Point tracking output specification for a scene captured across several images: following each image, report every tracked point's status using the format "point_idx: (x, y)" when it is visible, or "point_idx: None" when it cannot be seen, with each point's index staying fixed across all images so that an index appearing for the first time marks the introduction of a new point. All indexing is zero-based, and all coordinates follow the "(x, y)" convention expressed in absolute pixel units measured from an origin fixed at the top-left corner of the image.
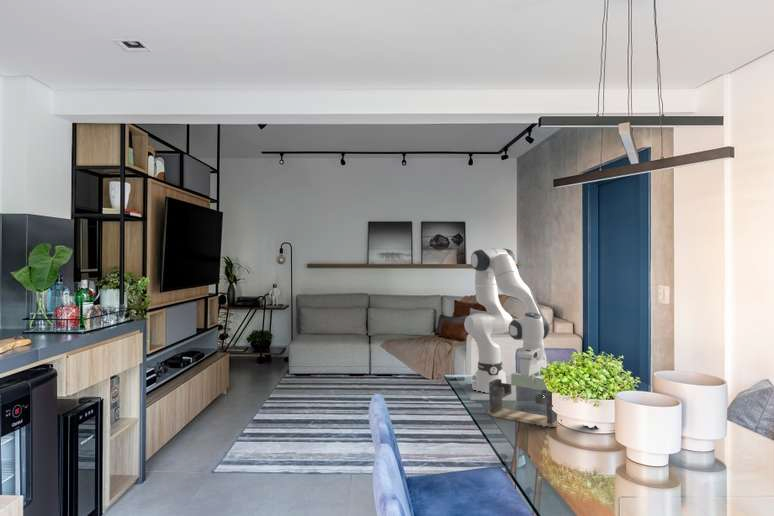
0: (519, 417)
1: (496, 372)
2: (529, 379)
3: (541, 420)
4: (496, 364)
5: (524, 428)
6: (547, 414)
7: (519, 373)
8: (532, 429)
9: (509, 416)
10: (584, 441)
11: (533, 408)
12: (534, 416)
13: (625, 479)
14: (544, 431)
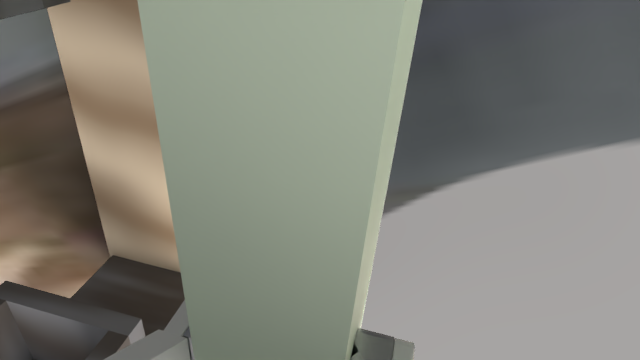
0: (74, 95)
1: None
2: (152, 337)
3: (125, 226)
4: None
5: (19, 144)
6: (79, 292)
7: (348, 150)
8: (40, 183)
9: (51, 11)
10: None
11: (446, 102)
12: (160, 180)
13: None
14: (62, 236)
